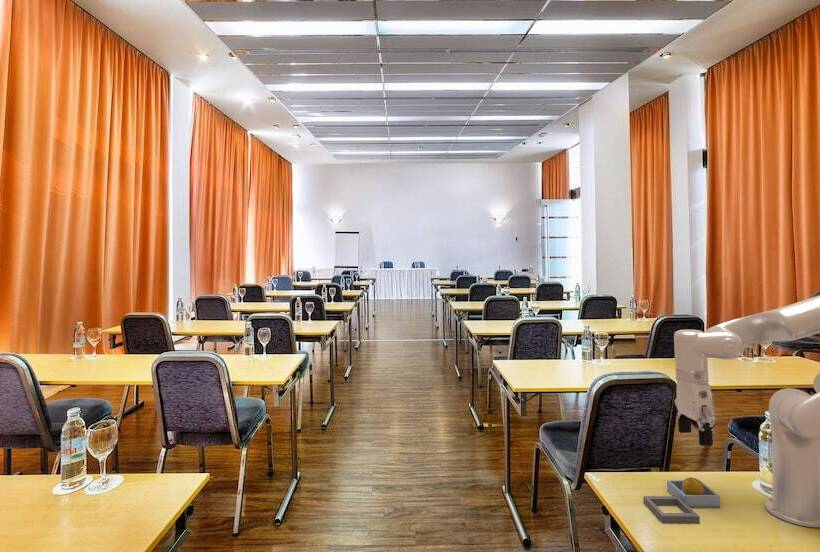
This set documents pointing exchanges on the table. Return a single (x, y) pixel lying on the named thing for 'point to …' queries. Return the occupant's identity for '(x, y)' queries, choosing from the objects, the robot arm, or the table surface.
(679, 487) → the parts tray
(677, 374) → the robot arm
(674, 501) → the holder panel
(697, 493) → the grooved yellow cone
